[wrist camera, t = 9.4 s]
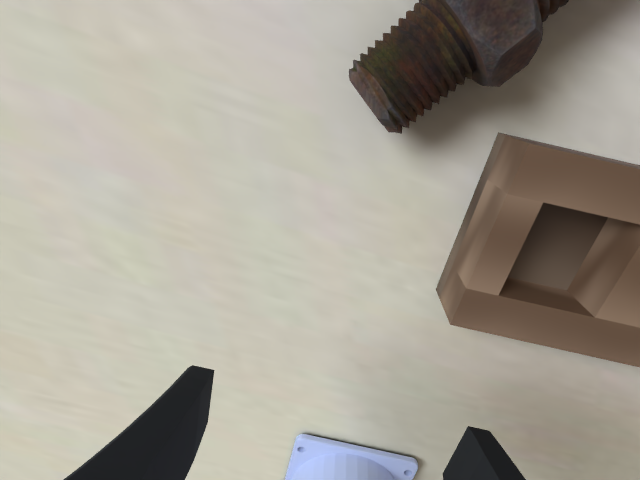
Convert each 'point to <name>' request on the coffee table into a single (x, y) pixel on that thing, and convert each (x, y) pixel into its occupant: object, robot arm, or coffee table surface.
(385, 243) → the coffee table surface
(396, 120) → the bolt
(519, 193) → the socket block
